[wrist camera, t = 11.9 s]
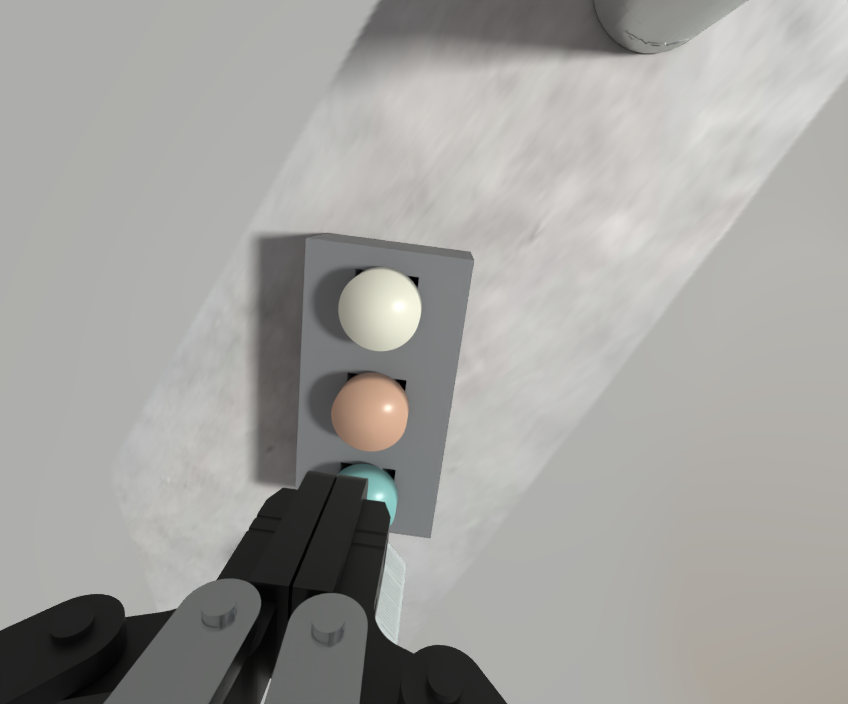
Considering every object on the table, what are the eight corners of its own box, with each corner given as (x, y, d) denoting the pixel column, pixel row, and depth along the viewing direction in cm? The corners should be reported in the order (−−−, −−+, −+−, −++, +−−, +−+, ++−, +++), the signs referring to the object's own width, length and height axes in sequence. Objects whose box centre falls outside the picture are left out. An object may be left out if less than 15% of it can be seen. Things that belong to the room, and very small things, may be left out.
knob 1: (361, 253, 37) (341, 265, 30) (429, 262, 37) (425, 276, 30) (356, 319, 39) (335, 345, 32) (421, 328, 39) (414, 356, 32)
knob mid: (354, 346, 40) (333, 377, 33) (418, 354, 40) (410, 387, 33) (349, 404, 41) (328, 446, 34) (410, 412, 41) (402, 456, 34)
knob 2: (347, 428, 42) (327, 473, 35) (407, 436, 42) (399, 483, 35) (343, 479, 44) (323, 532, 37) (401, 487, 44) (391, 542, 37)
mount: (327, 232, 38) (305, 237, 32) (470, 251, 38) (474, 260, 32) (313, 479, 45) (293, 519, 40) (432, 496, 45) (430, 538, 40)
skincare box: (342, 542, 48) (308, 648, 36) (375, 524, 47) (350, 627, 35) (376, 581, 49) (353, 696, 38) (408, 565, 48) (396, 677, 37)
